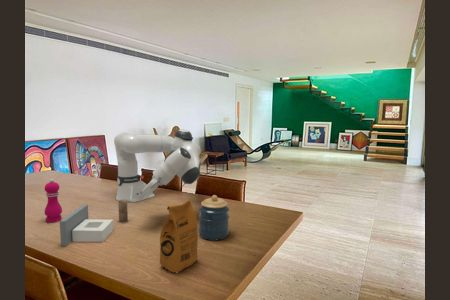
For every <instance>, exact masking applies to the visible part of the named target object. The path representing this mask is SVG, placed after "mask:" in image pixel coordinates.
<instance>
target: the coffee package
mask: <svg viewBox="0 0 450 300" xmlns="http://www.w3.org/2000/svg"><path fill="white" fill-rule="evenodd" d="M166 209H167V210H168V212H169V214H168V215H167V218H166V221H165V223H164V224H163V226H162V228H161V231H160V236H159V247H160V249H159V252H160V253H159V264H160V266H161V267H162V268H163V267H165V268H164V269H166V268H167V269H168V271H169V272H170V271H171V272H170V273H174V272H179V271H180V272H181V271H183V270H184V269H186V267H187V268H189V267H188V266H190V265H191V266H192V265H193V264H194V263H195V262H196V260H197V261H198V243H199V242H198V239H199V238H198V237H199V235H198V234H199V231H198V220H197V215H196V212H195V210H194V206H193V204H192V202H191V199H189V198H188V199H186V200H185V201H184V202H183V204H178V205H168V206H167V208H166ZM191 266H190V267H191ZM167 269H166V270H167ZM180 272H179V273H180Z"/></svg>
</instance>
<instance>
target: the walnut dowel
mask: <svg viewBox="0 0 450 300" xmlns="http://www.w3.org/2000/svg"><path fill="white" fill-rule="evenodd" d="M117 201H118V200H117ZM117 206H118V222H119V223H122V224H123V223H127V222H128V221H129V219H128V217H129V215H128V214H129V212H128V201H127V200H119V201H118V205H117Z"/></svg>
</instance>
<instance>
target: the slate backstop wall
mask: <svg viewBox="0 0 450 300" xmlns="http://www.w3.org/2000/svg"><path fill="white" fill-rule="evenodd" d="M85 219H89V204H82V205H81V206H79V207H78V208H77V209H75V210H74V211H73V212H71V213H70V214H68V215H66V216H65V217H64V218H63V219H62V218H61V220H60V221H59V229H60V230H59V231H60V232H59V233H60V246H61V247H67V246H68V245H69V244H70V243H71V242H73V238H72V230H73V229H74V228H76V227H77V226H78V225H79V224H81V223H82V222H83V221H84V220H85Z"/></svg>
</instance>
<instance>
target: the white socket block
mask: <svg viewBox="0 0 450 300" xmlns="http://www.w3.org/2000/svg"><path fill="white" fill-rule="evenodd" d="M113 231H114V219H96V218H95V219H93V218H92V219H91V218H88V219H85V220H84V221H83V222H82V223H81V224H79V225H78V226H77V227H76V228H74V229H73V230H72V238H73V240H72V242H75V243H77V242H78V243H79V242H80V243H81V242H84V243H85V242H86V243H88V242H89V243H92V242H93V243H103V242H104V241H105V240H106V239H107V238H108V237H109V236H110V235H111V233H112V232H113Z"/></svg>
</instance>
